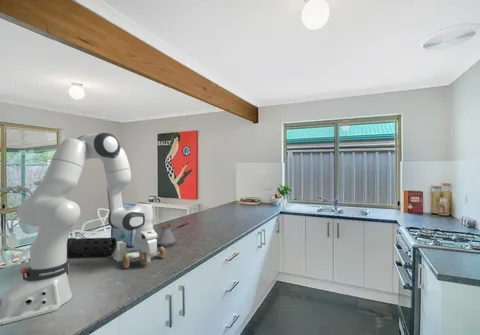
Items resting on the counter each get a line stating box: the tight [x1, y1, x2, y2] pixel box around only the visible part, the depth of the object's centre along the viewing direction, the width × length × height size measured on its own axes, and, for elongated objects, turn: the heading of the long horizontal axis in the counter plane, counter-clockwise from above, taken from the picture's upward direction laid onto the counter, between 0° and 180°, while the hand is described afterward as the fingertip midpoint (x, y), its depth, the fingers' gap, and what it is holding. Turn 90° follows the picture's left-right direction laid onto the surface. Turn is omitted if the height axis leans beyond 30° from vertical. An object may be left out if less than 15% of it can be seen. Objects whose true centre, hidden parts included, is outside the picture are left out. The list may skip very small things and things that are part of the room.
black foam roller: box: [67, 237, 117, 257], centre depth 144 cm, size 10×28×10 cm, turn 93°
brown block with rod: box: [122, 246, 166, 269], centre depth 132 cm, size 20×6×6 cm, turn 135°
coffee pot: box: [157, 222, 190, 248], centre depth 161 cm, size 21×12×15 cm, turn 79°
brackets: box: [113, 241, 139, 262], centre depth 143 cm, size 19×7×9 cm, turn 135°
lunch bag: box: [110, 203, 136, 248], centre depth 168 cm, size 22×17×26 cm
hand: (144, 258), depth 132 cm, fingers open, 6 cm apart
